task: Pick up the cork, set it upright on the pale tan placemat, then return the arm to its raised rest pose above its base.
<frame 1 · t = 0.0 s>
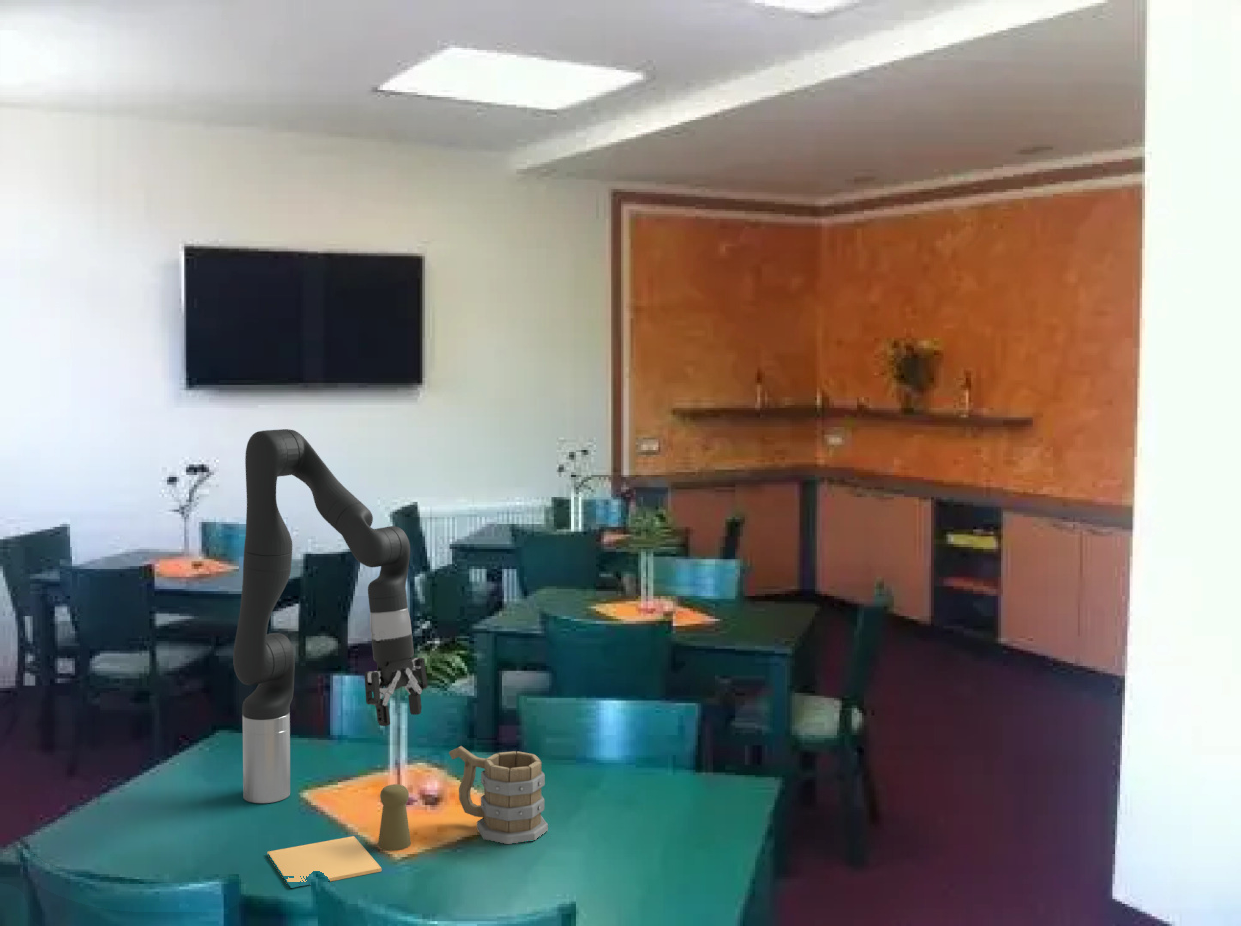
hand: (400, 719, 234), 22 cm above the table, tool pointing down, fingers open, 8 cm apart
cork: (394, 845, 232), on the table
placemat: (323, 863, 223), on the table
tankard: (495, 828, 241), on the table
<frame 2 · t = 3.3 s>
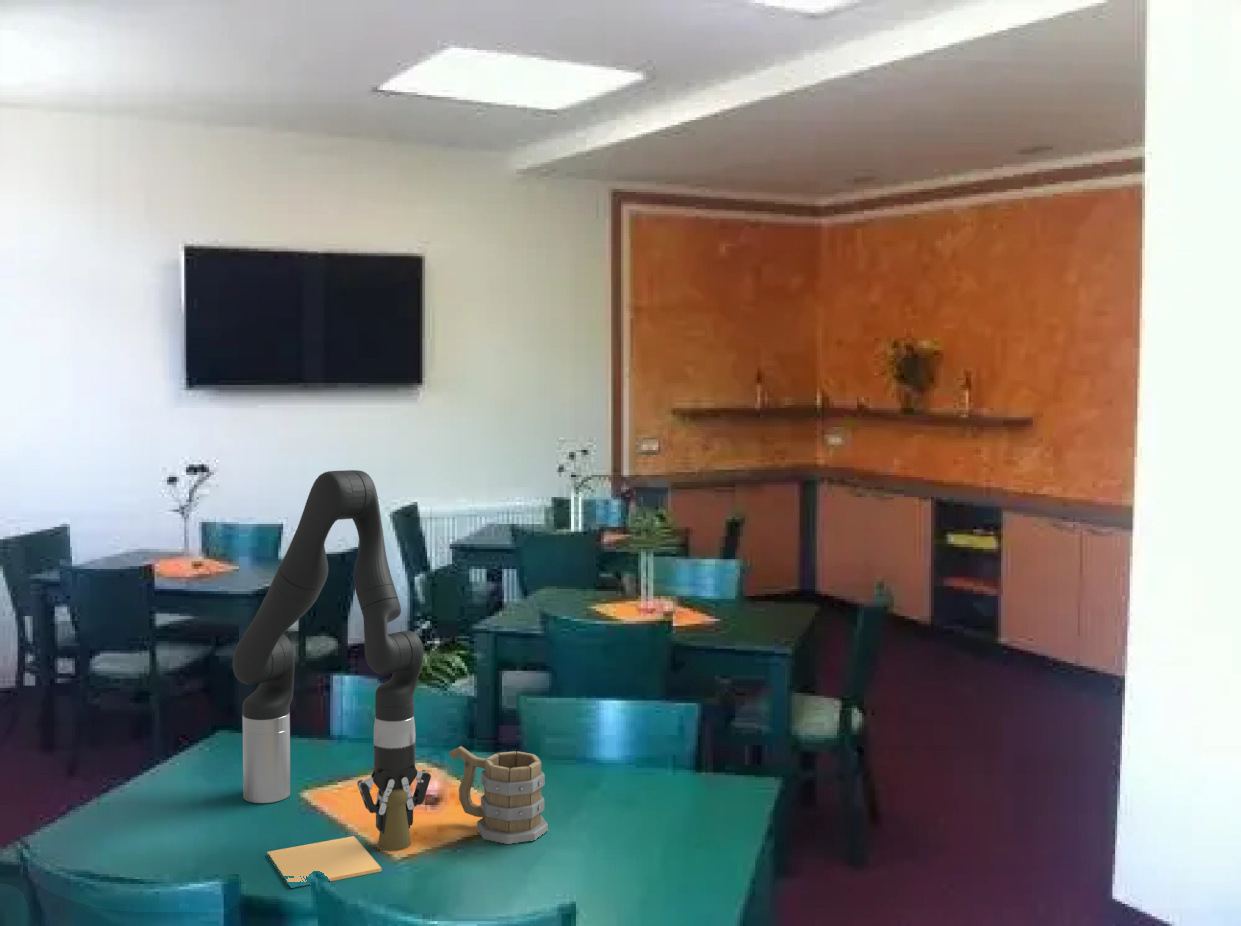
hand: (394, 829, 232), 3 cm above the table, tool pointing down, fingers closed on cork, 4 cm apart
cork: (394, 845, 232), on the table, touching gripper
everything else where it was.
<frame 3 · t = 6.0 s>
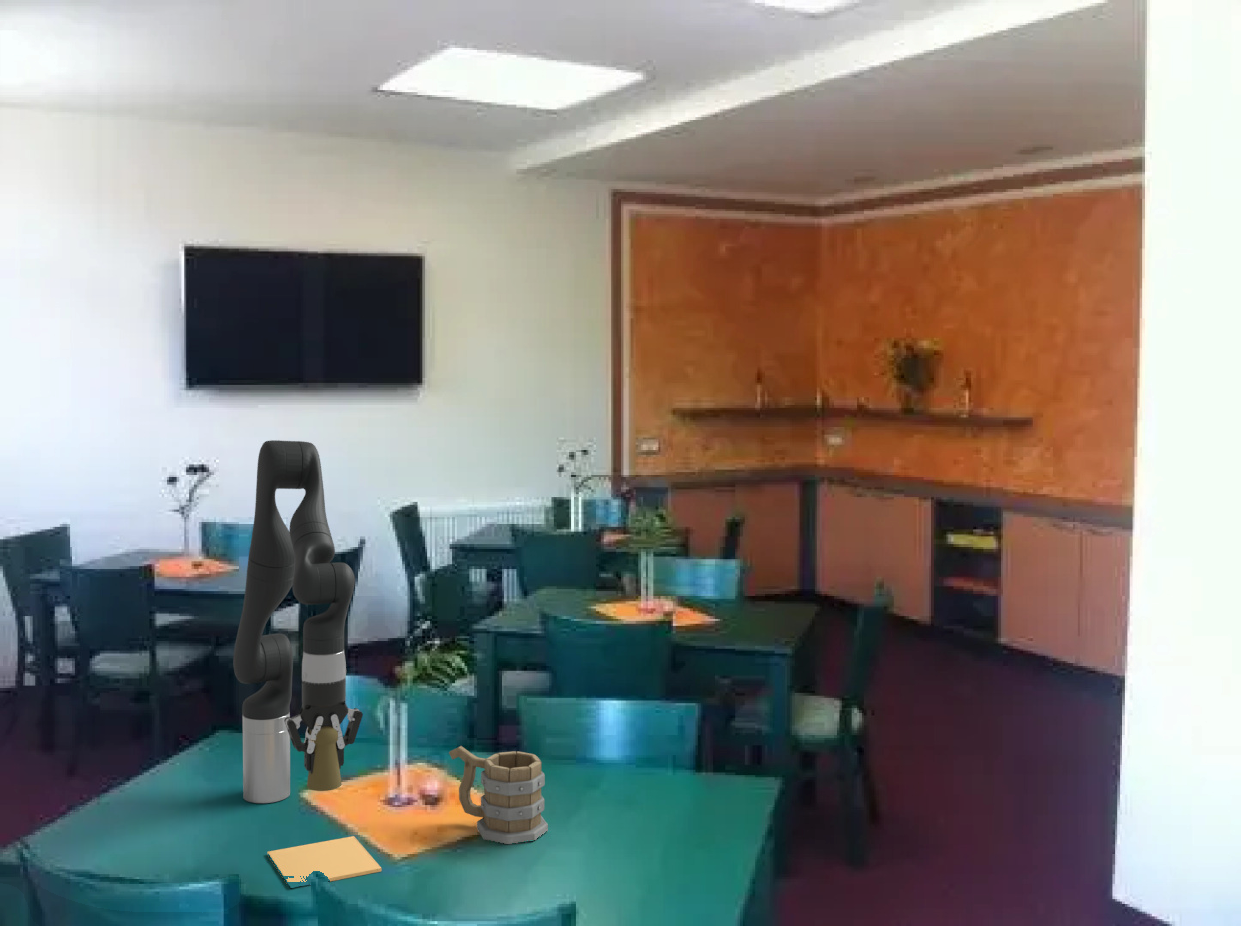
hand: (324, 769, 222), 17 cm above the table, tool pointing down, fingers closed on cork, 4 cm apart
cork: (324, 786, 222), point 14 cm above the table, touching gripper
everything else where it was.
when the fingers open (5 cm above the table, at t = 9.0 s): cork drops 1 cm, resting on placemat.
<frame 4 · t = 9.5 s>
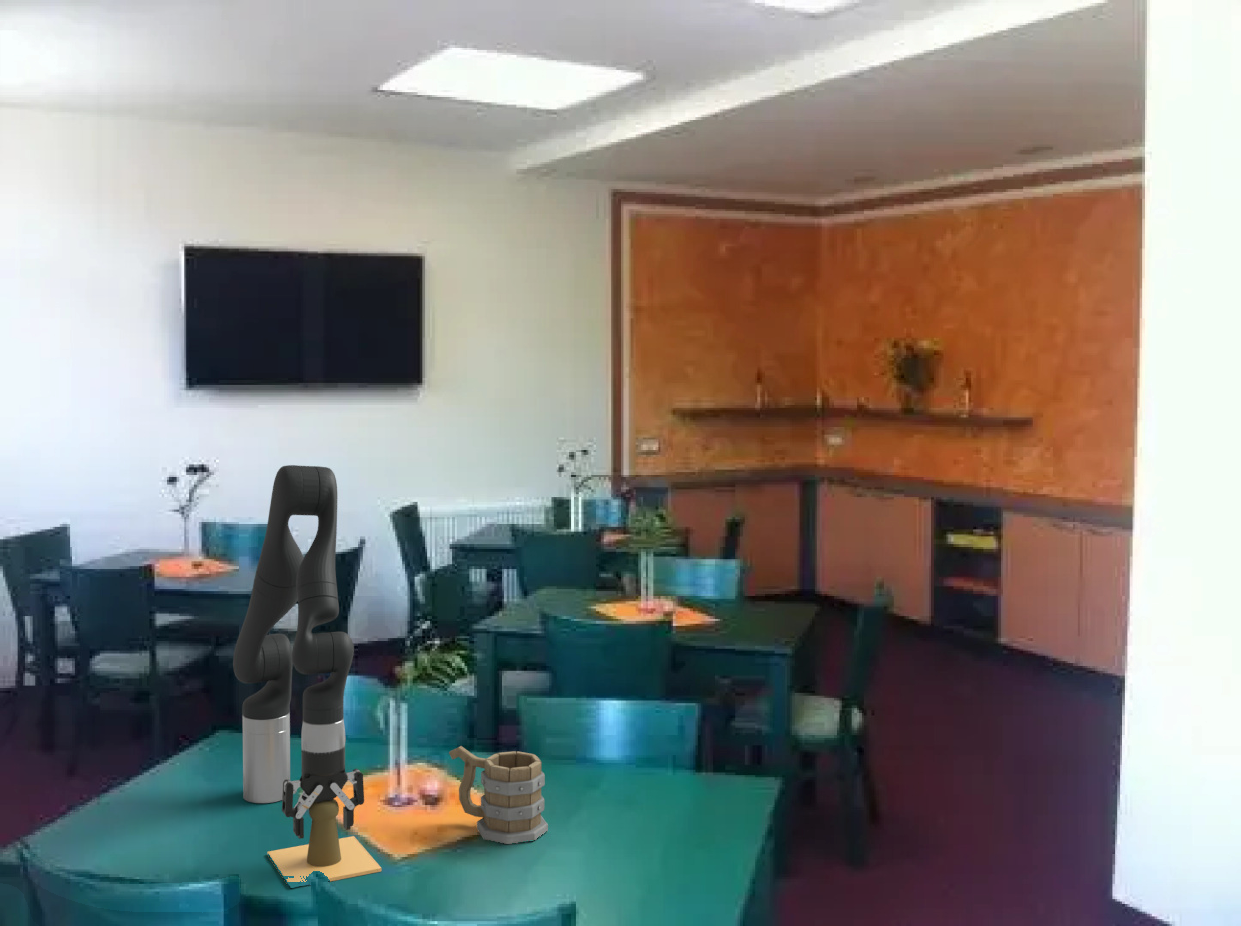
hand: (323, 833, 223), 6 cm above the table, tool pointing down, fingers open, 8 cm apart
cork: (324, 860, 223), resting on placemat
everything else where it was.
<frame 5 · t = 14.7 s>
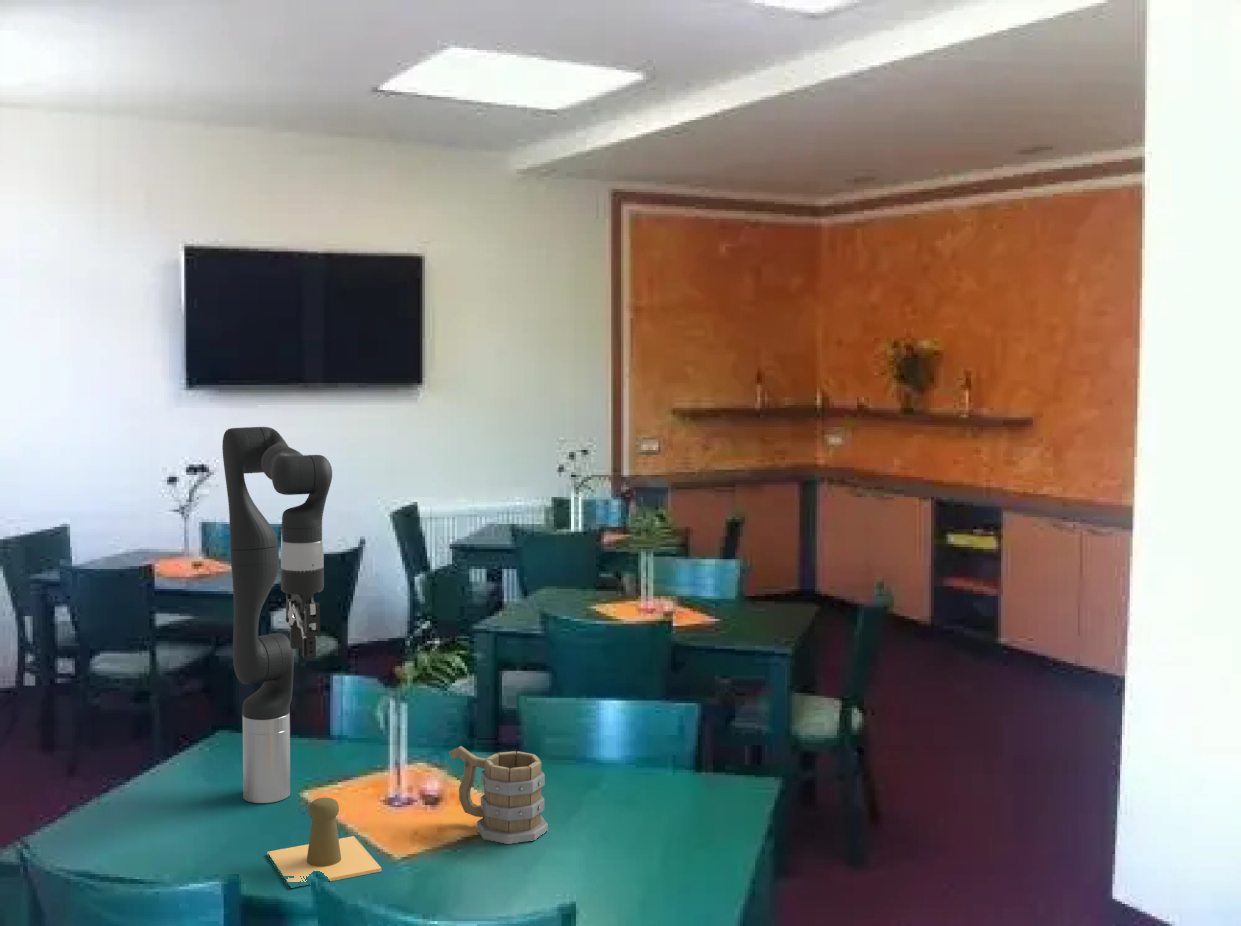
hand: (302, 653, 227), 36 cm above the table, tool pointing down, fingers open, 8 cm apart
nothing on the table moved.
at the end: cork inside the target area on the placemat (0.1 cm from its centre), point 0.4 cm above the placemat's base; cork tilted 0°; the gripper is holding nothing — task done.
